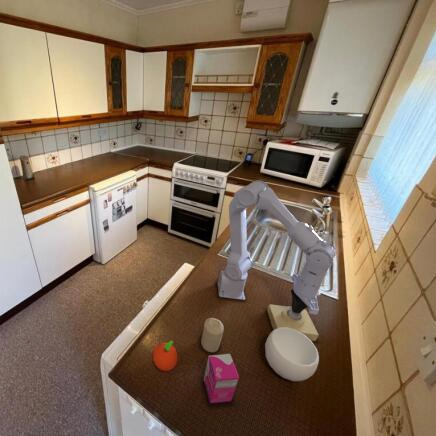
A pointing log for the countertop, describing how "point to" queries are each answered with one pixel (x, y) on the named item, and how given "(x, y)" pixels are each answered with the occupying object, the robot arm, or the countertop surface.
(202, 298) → the countertop surface
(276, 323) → the square plate with button
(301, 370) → the white bowl
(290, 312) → the grey pebble
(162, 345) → the clementine
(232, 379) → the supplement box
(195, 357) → the countertop surface
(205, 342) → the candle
